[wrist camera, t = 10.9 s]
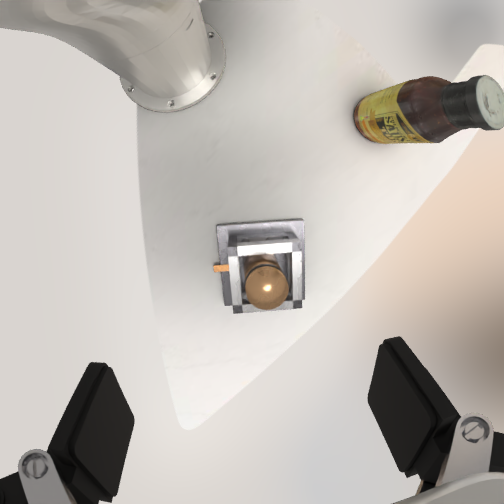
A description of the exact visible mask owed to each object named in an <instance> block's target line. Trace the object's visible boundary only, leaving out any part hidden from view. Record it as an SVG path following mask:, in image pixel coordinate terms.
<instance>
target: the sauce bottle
mask: <svg viewBox="0 0 504 504" xmlns="http://www.w3.org/2000/svg"><path fill="white" fill-rule="evenodd" d="M354 120H355V123H356V126H357V128H358V130H359V131H360V132H361V134H362V135H363V136H365V138H367V139H369V140H370V141H373V142H377V143H381V144H391V143H440V142H442V141H443V140H444V139H446V138H447V137H449V136H451V135H453V134H454V133H456V132H458V131H460V130H462V129H468V128H482V129H483V130H500V129H501V128H503V126H504V92H503V90H502V88H501V87H500V85H499V84H498V83H497V82H496V81H495V80H494V79H493V78H491V77H490V76H487V75H483V76H476V77H472V78H470V79H469V80H468V81H465V82H459V83H451V82H449V81H447V80H444V79H442V78H438V77H433V76H429V77H423V78H419V79H414V80H409V81H406V82H403V83H400V84H398V85H395V86H392V87H389V88H386V89H383V90H380V91H378V92H375V93H372V94H370V95H368V96H367V97H365V98H363V99H362V100H361V101H360V102H359V103H358V105H357V106H356V109H355V112H354Z"/></svg>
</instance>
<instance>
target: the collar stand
mask: <svg viewBox="0 0 504 504" xmlns="http://www.w3.org/2000/svg"><path fill="white" fill-rule="evenodd" d="M217 236H218V246H219V256H220V265H214V272H221V276H222V285H223V295H224V304H225V306H230V305H233V313H234V314H236V313H249V312H262V311H274V310H285V309H296V308H302V300H303V299H305V242H304V220H303V219H292V220H276V221H261V222H247V223H233V224H220V225H217ZM260 254H273V255H274V256H275V258H276V260H277V262H278V264H279V266H280V268H281V270H282V272H283V273H284V275H285V277H286V279H287V282H288V286H289V292H288V296H287V298H286V300H285V301H284V302H283V303H282V304H281V305H280V306H279V307H277V308H275V309H271V310H262V309H258V308H256V307H255V306H253V305H252V304H251V303H250V302H249V300H248V298H247V296H246V291H245V277H244V261H245V259H246V257H247V256H248V255H260Z"/></svg>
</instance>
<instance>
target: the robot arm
mask: <svg viewBox="0 0 504 504" xmlns="http://www.w3.org/2000/svg"><path fill="white" fill-rule="evenodd" d="M0 28H5V29H12V30H21V31H28V32H35V33H41V34H45V35H49V36H52V37H55V38H57V39H59V40H62V41H64V42H66V43H68V44H70V45H71V46H73V47H75V48H77V49H78V50H80V51H82V52H83V53H85V54H87V55H88V56H90V57H91V58H93V59H94V60H96V61H98V62H99V63H101V64H102V65H104V66H105V67H107V68H108V69H110V70H112V71H113V72H115V73H116V74H118V75H119V76H120V81H121V84H122V87H123V89H124V91H125V92H126V94H127V95H128V96H129V97H130V98H131V99H132V101H134V102H135V103H137V104H138V105H140V106H142V107H144V108H146V109H149V110H152V111H156V112H173V111H179V110H182V109H186V108H188V107H190V106H193V105H195V104H197V103H198V102H200V101H201V100H203V99H204V98H205V97H206V96H207V95H209V94H210V93H211V92H212V91H213V89H214V88H215V87H216V85H217V84H218V83H219V81H220V79H221V77H222V75H223V71H224V68H225V60H226V55H225V48H224V45H223V41H222V39H221V38H220V36H219V34H218V33H217V32H216V31H215V30H214V29H213V28H212V27H211V26H210V25H208V24H207V23H205V22H204V21H203V17H202V13H201V9H200V5H199V1H198V0H0ZM210 36H213V38H209V37H210ZM213 76H215V79H211V77H213ZM133 88H134V91H133V92H132V89H133ZM172 103H175V105H174V106H173V107H171V104H172ZM368 404H369V406H370V408H371V410H372V412H373V414H374V416H375V419H376V421H377V423H378V425H379V427H380V429H381V431H382V434H383V436H384V438H385V440H386V442H387V445H388V447H389V449H390V451H391V453H392V456H393V458H394V460H395V462H396V464H397V467H398V469H399V471H400V472H405V475H406V477H407V478H408V477H410V476H413V475H416V474H418V475H419V476H420V479H421V482H420V485H419V487H418V490H417V493H416V495H415V496H412V497H410V498H407V499H404V500H401V501H398V502H396V503H393V504H504V434H503V433H499V432H494V431H493V425H492V423H491V421H490V420H489V419H488V418H487V417H485V416H484V415H482V414H479V413H469V414H466V415H464V416H463V417H461V416H460V415H459V413H458V412H457V410H456V409H455V408H454V406H453V405H452V403H451V402H450V400H449V399H448V398H447V396H446V395H445V393H444V392H443V391H442V389H441V388H440V387H439V385H438V384H437V382H436V381H435V380H434V378H433V377H432V376H431V374H430V373H429V372H428V370H427V369H426V368H425V367H424V366H423V365H422V363H421V362H420V361H419V360H418V358H417V357H416V356H415V354H414V353H413V352H412V350H411V349H410V348H409V346H408V345H407V344H406V343H405V341H404V340H403V339H402V338H401V337H394V338H389V339H385V340H384V341H383V344H381V345H380V346H379V349H378V355H377V359H376V363H375V368H374V372H373V376H372V381H371V385H370V389H369V393H368ZM133 427H134V416H133V413H132V412H131V409H130V407H129V405H128V403H127V401H126V399H125V397H124V395H123V392H122V390H121V388H120V386H119V383H118V382H117V379H116V377H115V374H114V372H113V370H112V368H111V367H108V365H107V364H106V363H97V362H95V363H94V362H91V363H90V364H89V365H88V367H87V368H86V370H85V372H84V374H83V376H82V378H81V380H80V382H79V384H78V386H77V388H76V390H75V392H74V394H73V396H72V398H71V400H70V402H69V404H68V406H67V408H66V410H65V412H64V414H63V416H62V418H61V420H60V422H59V425H58V427H57V429H56V431H55V433H54V435H53V437H52V440H51V442H50V444H49V446H48V450H47V452H46V451H43V450H41V449H34V450H30V451H28V452H26V453H25V454H24V455H23V456H22V457H21V459H20V460H19V464H18V472H16V473H13V474H11V475H9V476H6V477H4V478H2V479H0V504H98V503H99V500H101V501H105V502H110V503H111V502H112V498H113V496H116V495H117V493H118V488H119V484H120V479H121V475H122V471H123V467H124V462H125V458H126V454H127V450H128V446H129V442H130V439H131V435H132V431H133Z"/></svg>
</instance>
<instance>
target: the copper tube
mask: <svg viewBox="0 0 504 504" xmlns="http://www.w3.org/2000/svg"><path fill="white" fill-rule="evenodd" d="M244 277H245V291H246V296H247V298H248V300H249V302H250V303H251V304H252V305H253V306H255V307H256V308H258V309H262V310H271V309H275V308H277V307H279V306H280V305H281V304H282V303H283V302H284V301H285V300H286V298H287V296H288V292H289V286H288V282H287V279H286V277H285V275H284V273H283V272H282V270H281V268H280V266H279V264H278V262H277V260H276V258H275V256H274V255H273V254H260V255H248V256H247V257H246V259H245V261H244Z"/></svg>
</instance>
